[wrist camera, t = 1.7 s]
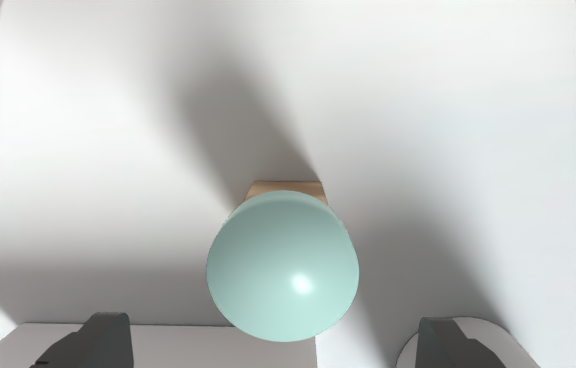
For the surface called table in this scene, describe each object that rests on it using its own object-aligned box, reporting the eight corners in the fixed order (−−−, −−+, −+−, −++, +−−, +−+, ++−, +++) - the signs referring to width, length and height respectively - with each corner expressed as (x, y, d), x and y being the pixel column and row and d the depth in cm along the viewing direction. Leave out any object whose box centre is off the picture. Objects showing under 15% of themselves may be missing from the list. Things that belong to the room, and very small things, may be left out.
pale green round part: (355, 190, 15) (363, 203, 13) (348, 316, 16) (355, 343, 14) (213, 189, 15) (202, 201, 13) (219, 314, 16) (210, 340, 14)
